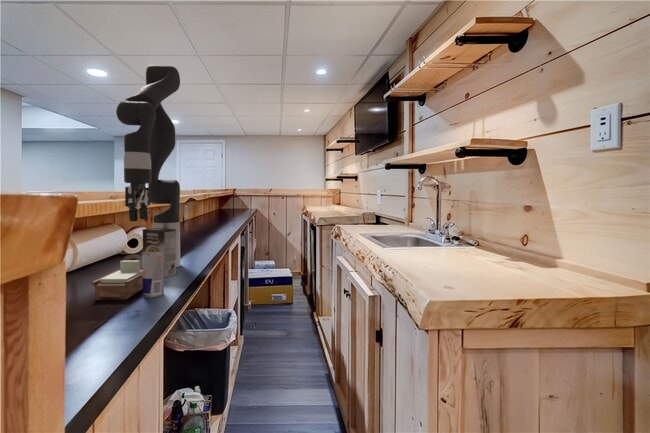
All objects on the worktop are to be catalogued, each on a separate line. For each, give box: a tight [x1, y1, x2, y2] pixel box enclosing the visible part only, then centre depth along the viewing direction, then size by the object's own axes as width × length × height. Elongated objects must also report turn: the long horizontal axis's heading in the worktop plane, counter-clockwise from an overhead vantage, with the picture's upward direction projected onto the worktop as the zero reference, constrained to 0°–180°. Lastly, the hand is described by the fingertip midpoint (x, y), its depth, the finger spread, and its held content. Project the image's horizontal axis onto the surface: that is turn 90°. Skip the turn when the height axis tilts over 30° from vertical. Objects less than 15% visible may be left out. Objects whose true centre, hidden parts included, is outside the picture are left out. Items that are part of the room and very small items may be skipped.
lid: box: [99, 259, 142, 283], centre depth 104 cm, size 11×7×4 cm, turn 4°
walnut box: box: [91, 269, 143, 301], centre depth 104 cm, size 14×9×5 cm, turn 4°
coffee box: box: [142, 227, 177, 278], centre depth 126 cm, size 9×6×16 cm
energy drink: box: [141, 252, 165, 299], centre depth 102 cm, size 5×5×12 cm
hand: (138, 220), depth 113 cm, fingers open, 8 cm apart
